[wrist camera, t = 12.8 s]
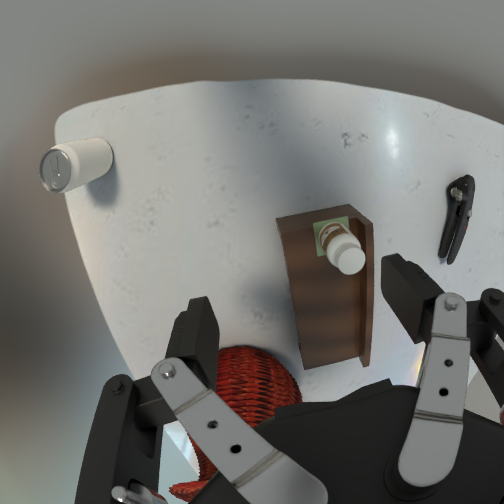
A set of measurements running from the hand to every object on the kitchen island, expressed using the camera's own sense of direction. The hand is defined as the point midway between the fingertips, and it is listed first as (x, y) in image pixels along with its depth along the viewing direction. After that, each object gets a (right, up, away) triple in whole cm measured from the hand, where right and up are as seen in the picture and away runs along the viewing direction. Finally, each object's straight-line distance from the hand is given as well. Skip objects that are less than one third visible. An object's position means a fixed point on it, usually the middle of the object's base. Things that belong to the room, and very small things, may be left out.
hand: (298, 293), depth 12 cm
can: (-27, +17, +25) cm, 40 cm away
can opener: (+36, +9, +31) cm, 48 cm away
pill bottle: (+9, +4, +25) cm, 27 cm away
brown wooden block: (+10, -4, +36) cm, 38 cm away
